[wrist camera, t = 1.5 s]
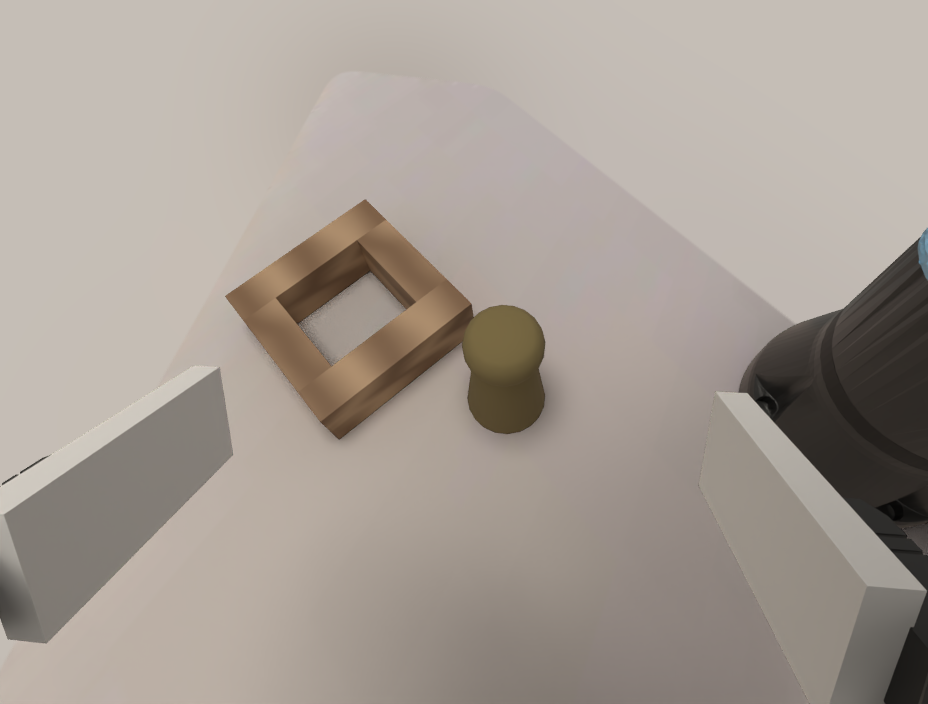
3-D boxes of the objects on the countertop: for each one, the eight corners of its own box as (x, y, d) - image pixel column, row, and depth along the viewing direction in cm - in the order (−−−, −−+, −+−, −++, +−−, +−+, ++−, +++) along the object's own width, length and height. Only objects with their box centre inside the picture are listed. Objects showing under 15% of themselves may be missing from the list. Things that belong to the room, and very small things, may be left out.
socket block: (377, 231, 51) (365, 199, 47) (475, 330, 46) (471, 303, 42) (249, 322, 48) (224, 296, 44) (339, 439, 43) (320, 421, 39)
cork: (467, 435, 42) (452, 381, 32) (467, 362, 44) (452, 292, 35) (547, 432, 41) (557, 377, 32) (542, 359, 44) (549, 287, 34)
